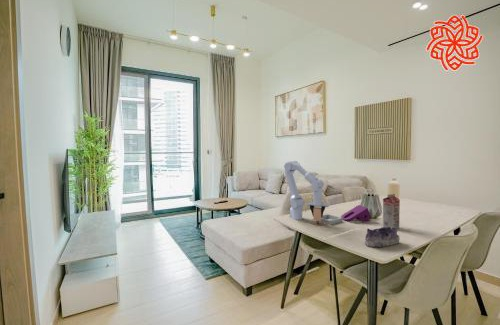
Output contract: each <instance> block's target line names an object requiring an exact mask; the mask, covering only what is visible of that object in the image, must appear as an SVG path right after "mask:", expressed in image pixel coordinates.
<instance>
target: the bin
mask: <svg viewBox="0 0 500 325" xmlns="http://www.w3.org/2000/svg"><path fill="white" fill-rule="evenodd" d="M330 219H331V220H330ZM320 222H323V223H326V225H329V226H331V225H334V224H338V223H339V224H340V223H342V222H343V220H342V218H341V216H340V217H339V216H335V215H332V214H329V213H326V214H323V217H322V220H321V221H320Z"/></svg>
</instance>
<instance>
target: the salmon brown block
mask: <svg viewBox="0 0 500 325" xmlns="http://www.w3.org/2000/svg"><path fill="white" fill-rule="evenodd" d="M312 217H313V221H320V222H321V220H322V217H321V207H319V206H314V209H313V215H312Z"/></svg>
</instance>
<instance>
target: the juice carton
mask: <svg viewBox="0 0 500 325" xmlns="http://www.w3.org/2000/svg"><path fill="white" fill-rule="evenodd" d="M400 205H401V204H400V199H399V198H398V197H397V196H396V194H395V193H392V194H391V193H390V194H387V197H385V198H383V199H382V227H390V228H391V229H392V228H395V229H397V230H398V229H400Z"/></svg>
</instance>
